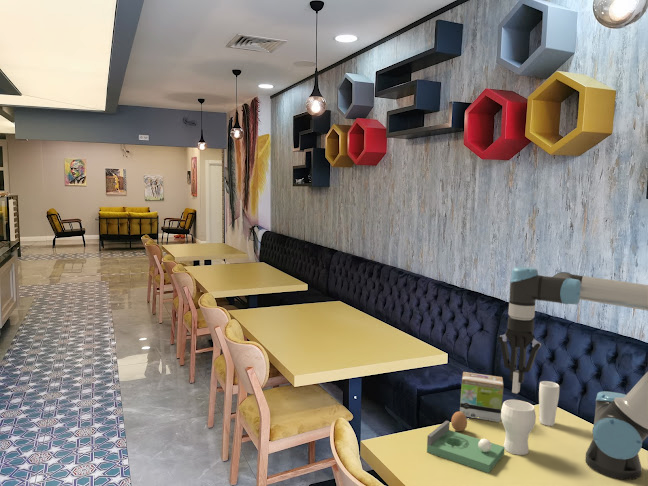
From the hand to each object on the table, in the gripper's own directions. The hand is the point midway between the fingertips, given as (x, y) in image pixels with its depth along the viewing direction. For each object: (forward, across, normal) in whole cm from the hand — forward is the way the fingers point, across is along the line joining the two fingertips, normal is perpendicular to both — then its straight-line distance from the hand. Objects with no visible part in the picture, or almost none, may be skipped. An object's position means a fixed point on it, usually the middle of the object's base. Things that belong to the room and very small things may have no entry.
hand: (515, 391), depth 159 cm
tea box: (+23, +20, -28) cm, 41 cm away
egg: (+23, +21, -9) cm, 32 cm away
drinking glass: (+22, -2, -37) cm, 44 cm away
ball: (+18, +7, +5) cm, 20 cm away
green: (+22, +13, +5) cm, 26 cm away
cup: (+22, +1, -8) cm, 24 cm away
